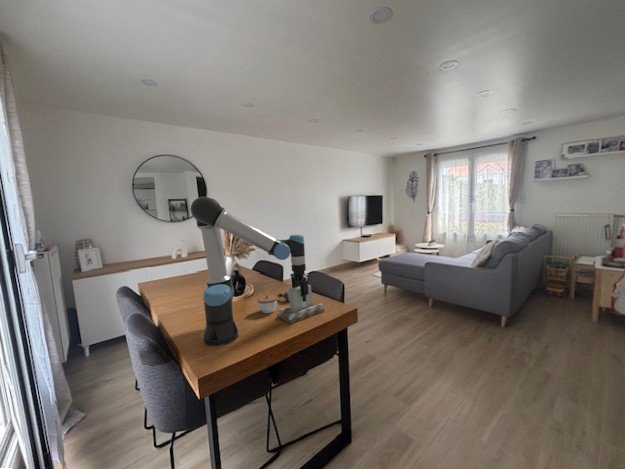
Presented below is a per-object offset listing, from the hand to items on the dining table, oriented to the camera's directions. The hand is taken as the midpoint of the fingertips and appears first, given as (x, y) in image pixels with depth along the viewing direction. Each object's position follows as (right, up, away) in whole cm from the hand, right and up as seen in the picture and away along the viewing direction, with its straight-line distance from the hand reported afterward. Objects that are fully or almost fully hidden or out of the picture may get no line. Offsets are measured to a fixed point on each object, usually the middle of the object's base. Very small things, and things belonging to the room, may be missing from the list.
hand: (301, 305), depth 140 cm
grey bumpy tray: (0, -5, 0) cm, 5 cm away
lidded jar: (-19, -5, +7) cm, 21 cm away
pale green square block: (0, -2, 0) cm, 2 cm away
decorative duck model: (-8, -3, +25) cm, 27 cm away
